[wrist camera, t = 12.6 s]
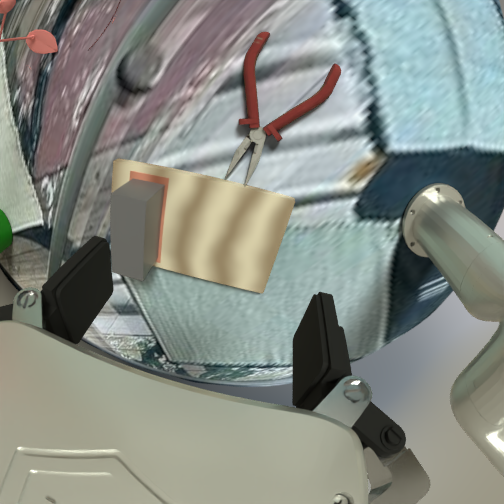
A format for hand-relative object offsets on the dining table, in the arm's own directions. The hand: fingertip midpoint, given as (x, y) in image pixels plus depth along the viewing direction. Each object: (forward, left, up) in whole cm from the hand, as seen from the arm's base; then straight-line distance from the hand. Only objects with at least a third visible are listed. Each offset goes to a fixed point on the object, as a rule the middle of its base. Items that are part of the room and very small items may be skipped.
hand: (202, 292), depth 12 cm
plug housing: (+13, +12, -25) cm, 30 cm away
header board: (+6, +12, -27) cm, 30 cm away
